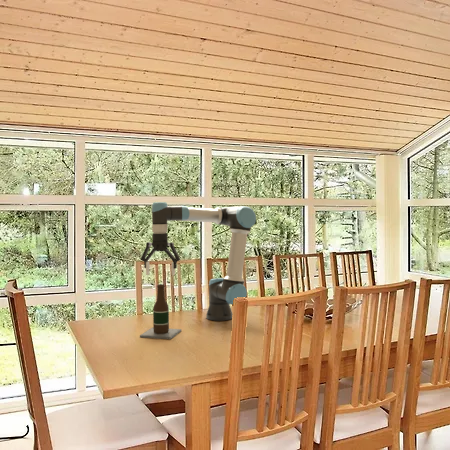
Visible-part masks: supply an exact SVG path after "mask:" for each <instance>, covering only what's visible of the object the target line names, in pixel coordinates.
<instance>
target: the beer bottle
mask: <svg viewBox="0 0 450 450" xmlns="http://www.w3.org/2000/svg"><path fill="white" fill-rule="evenodd" d="M156 288H157V290H156V291H157V293H156V301H155V302H154V305H153V309H152V314H153V315H152V316H153V317H152V318H153V320H152V322H153V323H152V324H153V327H152V328H153V329H154V333H156V334H164V333H167V332H168V331H169V329H170V316H169V315H170V311H169V310H170V308H169V304H168V303H167V301H166V297H165V284H162V283H160V284H159V283H158V284H157V285H156Z"/></svg>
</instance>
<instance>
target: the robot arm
mask: <svg viewBox="0 0 450 450" xmlns="http://www.w3.org/2000/svg"><path fill="white" fill-rule="evenodd" d="M151 220H152V224H151V227H152V228H151V229H152V235H151V236H152V242H151V241H148V242H146V245H145V249H144V251H143V253H142V255H141V257H140V261H142V262H143V263H144V264H143V266H144V268H145V276H148V275H150V274H151V273H150V269H151V268H150V261H149V260H150V259H151V258H152V256H153V255H154V254H155V252H164V253H165V254H166V255H167V256H168V258H170V260H172V262H171V276H176V269H178V268H177V267H178V263H177V262H179V261H181V257H180V255H179V253H178V251H177V250H176V247H175V242H173V241H172V242H169V241H168V222H170V221H174V222H175V221H176V222H177V221H180V222H198V223H199V222H200V223H201V222H202V223H214V224H216V225H222V226H228V227H229V230H230V232H231V238H230V245H229V246H230V247H229V252H228V253H229V254H228V260H227V261H228V262H227V269H226V275H225V276H224V277H218V278H211V279H209V282H208V283H209V284H208V289H209V290H208V294H209V297H208V298H209V300H208V302H209V303H208V307H207V311H206V315H205V316H206V317H205V318H206V319H207V320H209V321H215V322H216V321H217V322H218V321H229V320H230V321H231V320H232V319H233V318H232V315H233V311H232V308H231V305H233V300H234V298H237V297H246V298H247V293H248V291H247V288H246V286H245V279H244V278H243V273H244V272H243V271H244V263H245V258H246V250H247V249H246V246H247V240H248V235H249V234H250V233H251V229H252V227H253V226H254V225H256V221H257V215H256V212H255V211H254V210H253V209H252V208H251V207H250V206H246V205H245V206H244V205H241V206H236V205H235V206H226V207H216V208H205V207H204V208H203V207H188V206H187V205H168V203H167V202H166V201H163V202H162V201H157V202H156V201H155V202H153V203H152V204H151ZM151 246H152V247H153V248H152V249H151V251H150V248H151ZM168 247H170V250H171V251H170V250H169V248H168ZM149 251H150V252H149ZM172 253H173V254H172Z"/></svg>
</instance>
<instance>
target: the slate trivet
mask: <svg viewBox="0 0 450 450" xmlns="http://www.w3.org/2000/svg"><path fill="white" fill-rule="evenodd" d="M181 332H182V329H181V328H169V331H168V332H167V333H164V334H156V333H154V329H153V327H150V328H149V329H147V330H146V331H144V332H143V333H141V334H140V335H139V338H144V339H158V340H159V339H161V340H162V339H163V340H172V339H174V337H176V336H177V335H179V334H180V333H181Z"/></svg>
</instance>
